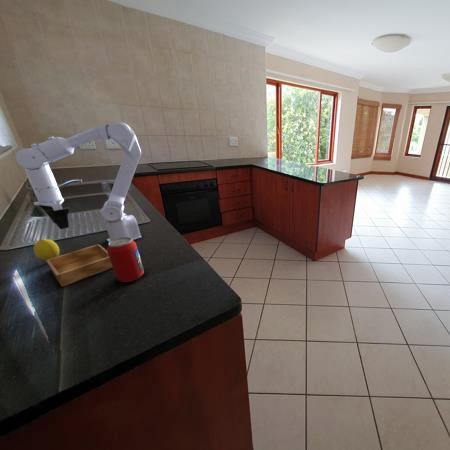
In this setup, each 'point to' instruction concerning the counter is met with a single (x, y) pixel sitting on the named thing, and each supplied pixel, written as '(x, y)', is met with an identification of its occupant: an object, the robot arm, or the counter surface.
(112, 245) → the beverage can
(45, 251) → the lemon
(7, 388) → the counter surface
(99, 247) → the wooden tray
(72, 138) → the robot arm
